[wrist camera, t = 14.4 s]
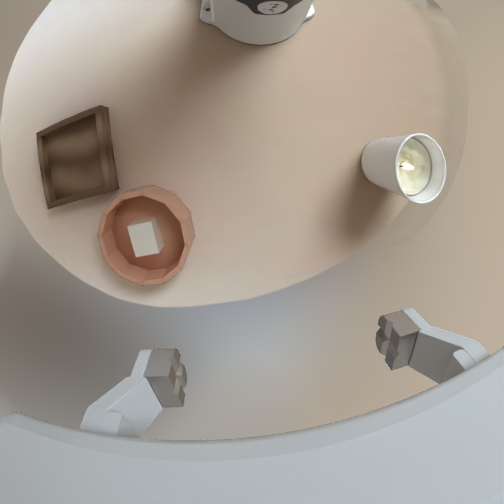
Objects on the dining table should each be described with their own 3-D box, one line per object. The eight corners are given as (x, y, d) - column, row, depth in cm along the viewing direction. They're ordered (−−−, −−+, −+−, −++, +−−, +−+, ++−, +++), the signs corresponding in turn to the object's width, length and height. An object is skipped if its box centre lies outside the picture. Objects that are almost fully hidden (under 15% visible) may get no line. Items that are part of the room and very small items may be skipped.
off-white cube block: (134, 220, 41) (127, 226, 37) (156, 215, 41) (150, 221, 37) (142, 249, 42) (135, 257, 39) (164, 245, 43) (159, 253, 39)
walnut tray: (45, 133, 34) (36, 133, 31) (108, 107, 34) (100, 105, 32) (56, 205, 39) (47, 209, 36) (119, 188, 40) (111, 191, 37)
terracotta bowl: (103, 196, 40) (89, 202, 35) (184, 179, 40) (178, 182, 35) (123, 275, 45) (113, 288, 40) (200, 265, 45) (197, 278, 41)
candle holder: (398, 193, 43) (440, 209, 32) (353, 185, 42) (390, 198, 31) (405, 141, 40) (449, 144, 29) (359, 128, 39) (399, 124, 28)
